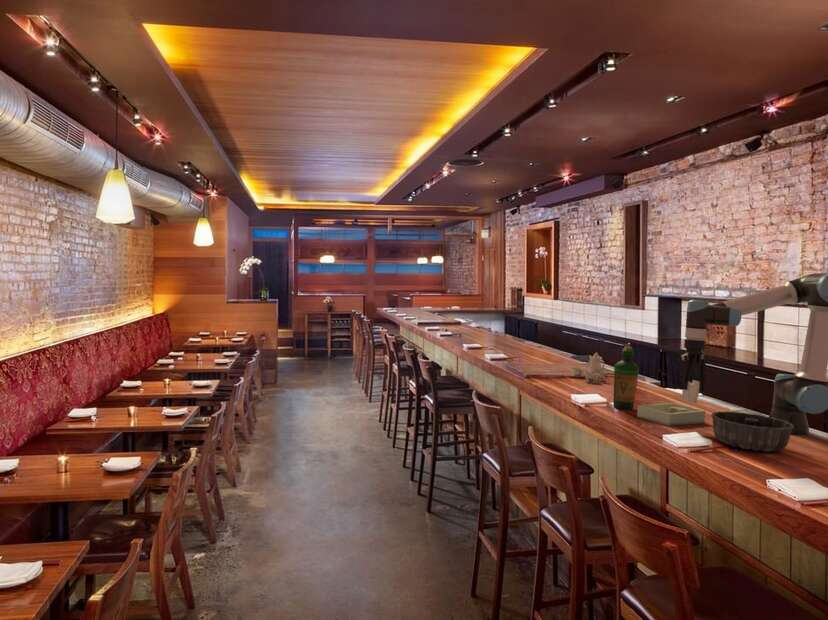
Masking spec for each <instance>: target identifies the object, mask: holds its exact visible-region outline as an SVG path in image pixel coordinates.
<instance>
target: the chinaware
mask: <svg viewBox="0 0 828 620" xmlns="http://www.w3.org/2000/svg"><path fill="white" fill-rule="evenodd" d="M588 357H589V360H588V364H587V367H586V368H584V367H583V368H581V367H578V366H576V367H573V366H571V367H570V369H571V373H572V375H573V376H574V378H580V377H582V376H583V375H584V378H585V379H586V380H587V381H588V384H594V383H596V382H602V381H603V379H605V374H604V372H603V370H604V368H605V361H604V360H603V357H602V356H600V355H599V353H598V352H597V351H596V352H595V353H594V354H593V356H592V355H591V354H590V355H588Z"/></svg>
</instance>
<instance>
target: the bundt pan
mask: <svg viewBox="0 0 828 620" xmlns="http://www.w3.org/2000/svg"><path fill="white" fill-rule="evenodd" d="M711 418H712V428H713V434H714V436H715V438H716V439H717V440H718V441H719V442H722V443H724V444H725V445H728V446H731V447H732V448H740V449H742V450H750V449H751V450H752V451H753V452H757V451H761V452H764V453H769V452H770V453H776V452H778V451H781V450H783V449H785V448H786V447H787V446H788V444H789V442H790V437H791V431H792V429H793V428H794V426H793V424H791V423H788V422H787V421H784V420H779V419H775V418H772V417H769V416H765V415H762V414H754V413H746V412H738V411H737V412H736V411H714V412H712V413H711Z"/></svg>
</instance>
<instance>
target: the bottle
mask: <svg viewBox="0 0 828 620" xmlns="http://www.w3.org/2000/svg"><path fill="white" fill-rule="evenodd" d="M632 348H633V346H624V347H623V349H622V350H621V353H620V354H621V355H622V356H621V357H622V359H621V360H619V361H617V362H616V363H615V364H614V366H613V407H614V409H616V410H617V409H618V410H622V411H623V410H624V411H631V410H633V409H634V407H635V399H636V393H637V386H638V378H639V372H640V367H639V366H638V364H637V363H636V362H635V361H633V356H634V355H635V353H634V350H633V349H632Z"/></svg>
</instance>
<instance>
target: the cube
mask: <svg viewBox="0 0 828 620" xmlns="http://www.w3.org/2000/svg"><path fill="white" fill-rule="evenodd" d="M687 410H688V409H685V408H681V407H669V413H680V412H687Z"/></svg>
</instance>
